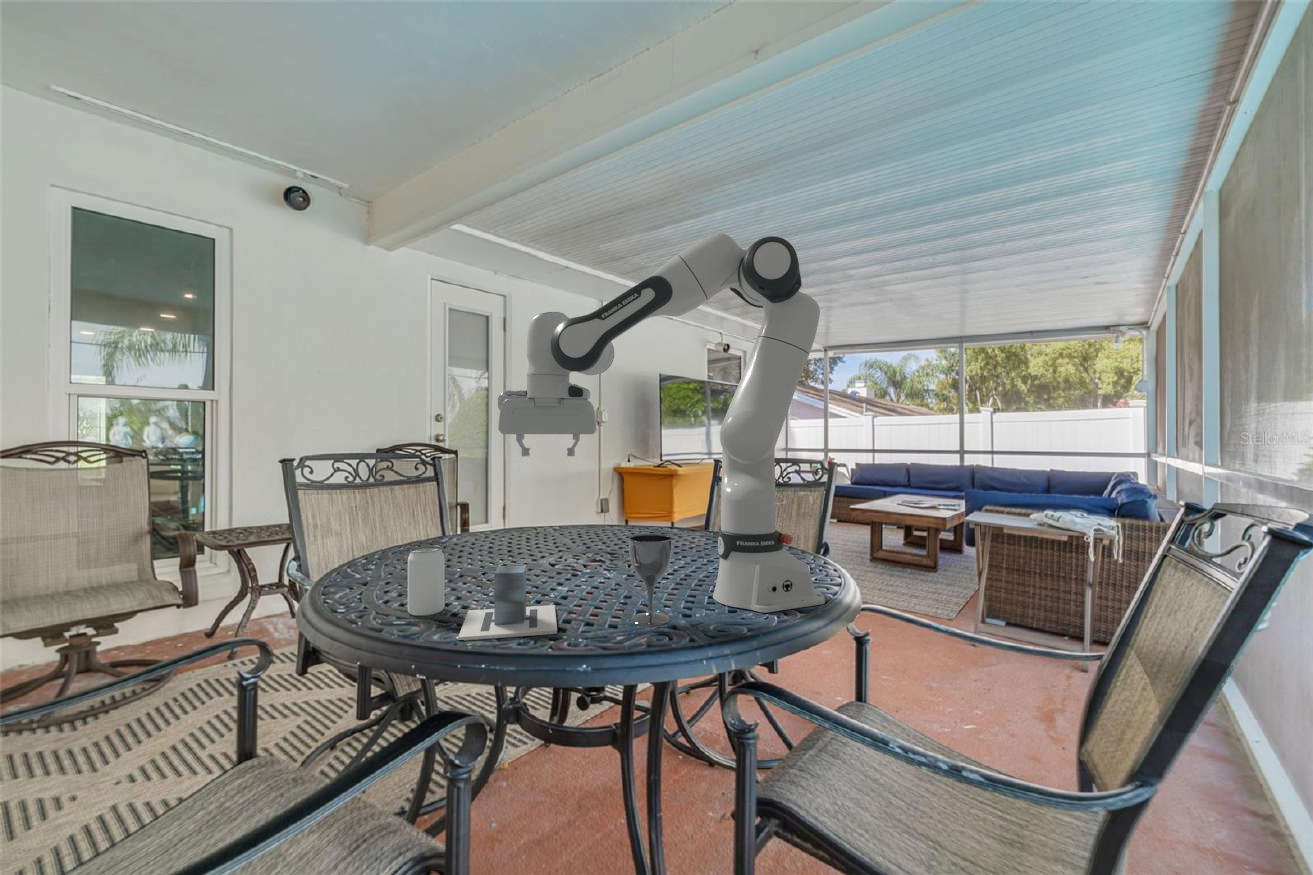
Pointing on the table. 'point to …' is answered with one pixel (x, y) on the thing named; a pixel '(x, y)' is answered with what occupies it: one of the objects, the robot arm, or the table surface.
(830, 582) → the table surface
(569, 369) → the robot arm
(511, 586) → the slate block
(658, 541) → the wine glass
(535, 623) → the letter board
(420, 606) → the can
